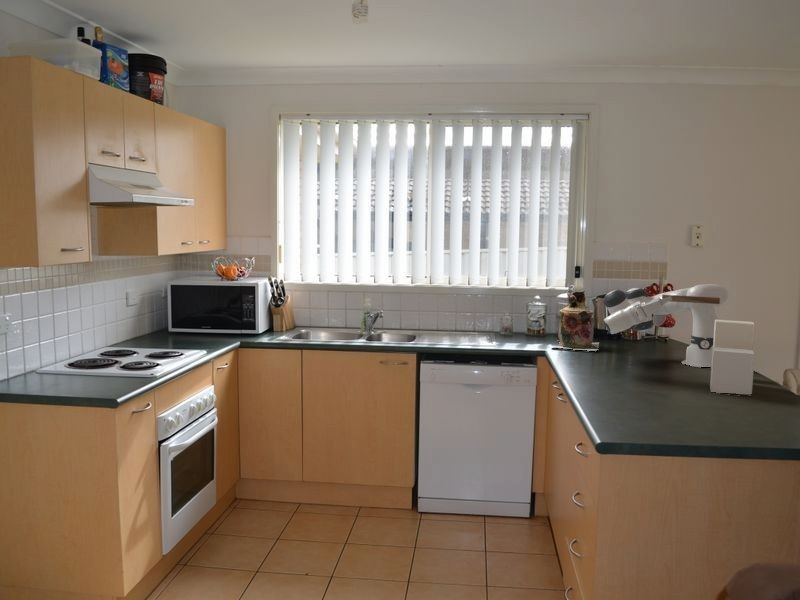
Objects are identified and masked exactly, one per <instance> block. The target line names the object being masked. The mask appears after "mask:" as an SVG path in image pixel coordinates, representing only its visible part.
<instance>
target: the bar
mask: <svg viewBox="0 0 800 600" xmlns="http://www.w3.org/2000/svg"><path fill="white" fill-rule="evenodd" d="M669 296H671V297H672V300H671V302H690V303H709V304H720V297H701V296H680V295H662V299H664V298H667V297H669Z"/></svg>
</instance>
